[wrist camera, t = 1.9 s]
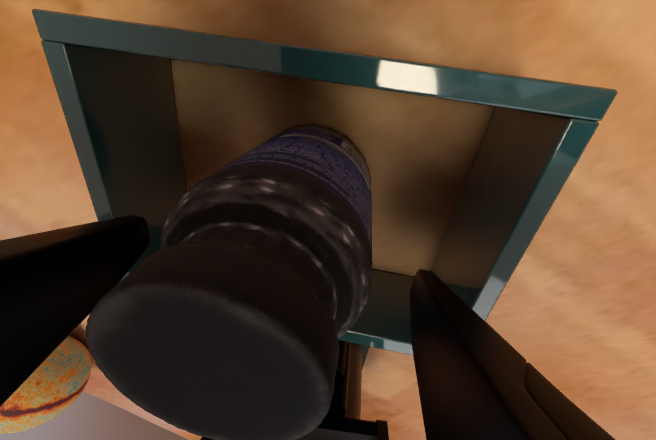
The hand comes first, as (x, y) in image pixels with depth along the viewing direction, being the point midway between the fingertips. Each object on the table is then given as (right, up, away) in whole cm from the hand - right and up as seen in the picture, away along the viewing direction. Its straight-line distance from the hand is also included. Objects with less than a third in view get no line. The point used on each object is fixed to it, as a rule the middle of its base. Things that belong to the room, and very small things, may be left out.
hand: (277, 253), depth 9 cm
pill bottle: (+1, +3, +6) cm, 7 cm away
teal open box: (+1, +3, +6) cm, 7 cm away
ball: (-22, -11, +17) cm, 30 cm away
